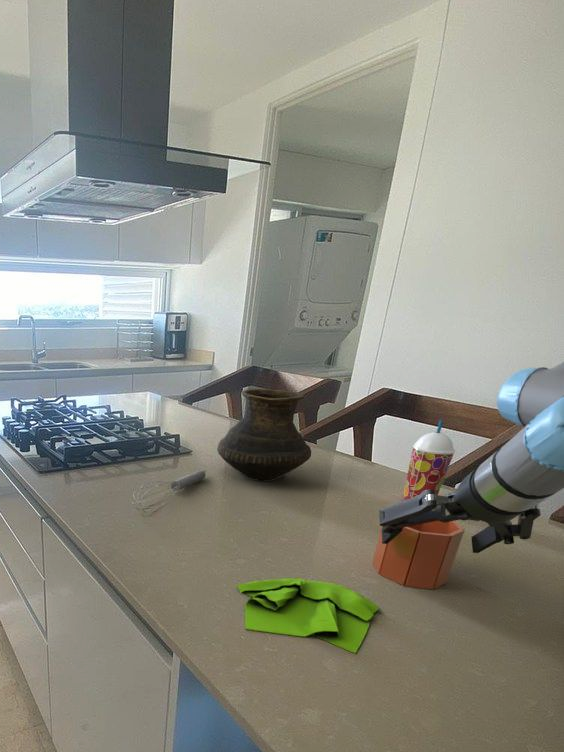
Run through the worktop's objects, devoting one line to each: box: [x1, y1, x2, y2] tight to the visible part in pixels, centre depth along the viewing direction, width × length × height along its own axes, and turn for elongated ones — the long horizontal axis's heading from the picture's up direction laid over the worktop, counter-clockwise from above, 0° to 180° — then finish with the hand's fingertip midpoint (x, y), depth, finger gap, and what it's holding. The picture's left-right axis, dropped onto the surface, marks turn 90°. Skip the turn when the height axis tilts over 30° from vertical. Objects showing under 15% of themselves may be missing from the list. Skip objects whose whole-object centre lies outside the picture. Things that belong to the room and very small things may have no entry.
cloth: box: [236, 577, 380, 654], centre depth 75 cm, size 20×22×2 cm
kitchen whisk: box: [132, 469, 207, 513], centre depth 119 cm, size 6×34×6 cm, turn 145°
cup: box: [372, 520, 465, 590], centre depth 85 cm, size 10×11×11 cm
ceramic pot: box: [216, 388, 312, 482], centre depth 130 cm, size 24×24×22 cm
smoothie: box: [402, 419, 456, 501], centre depth 114 cm, size 8×8×20 cm
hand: (428, 540), depth 81 cm, fingers open, 13 cm apart
